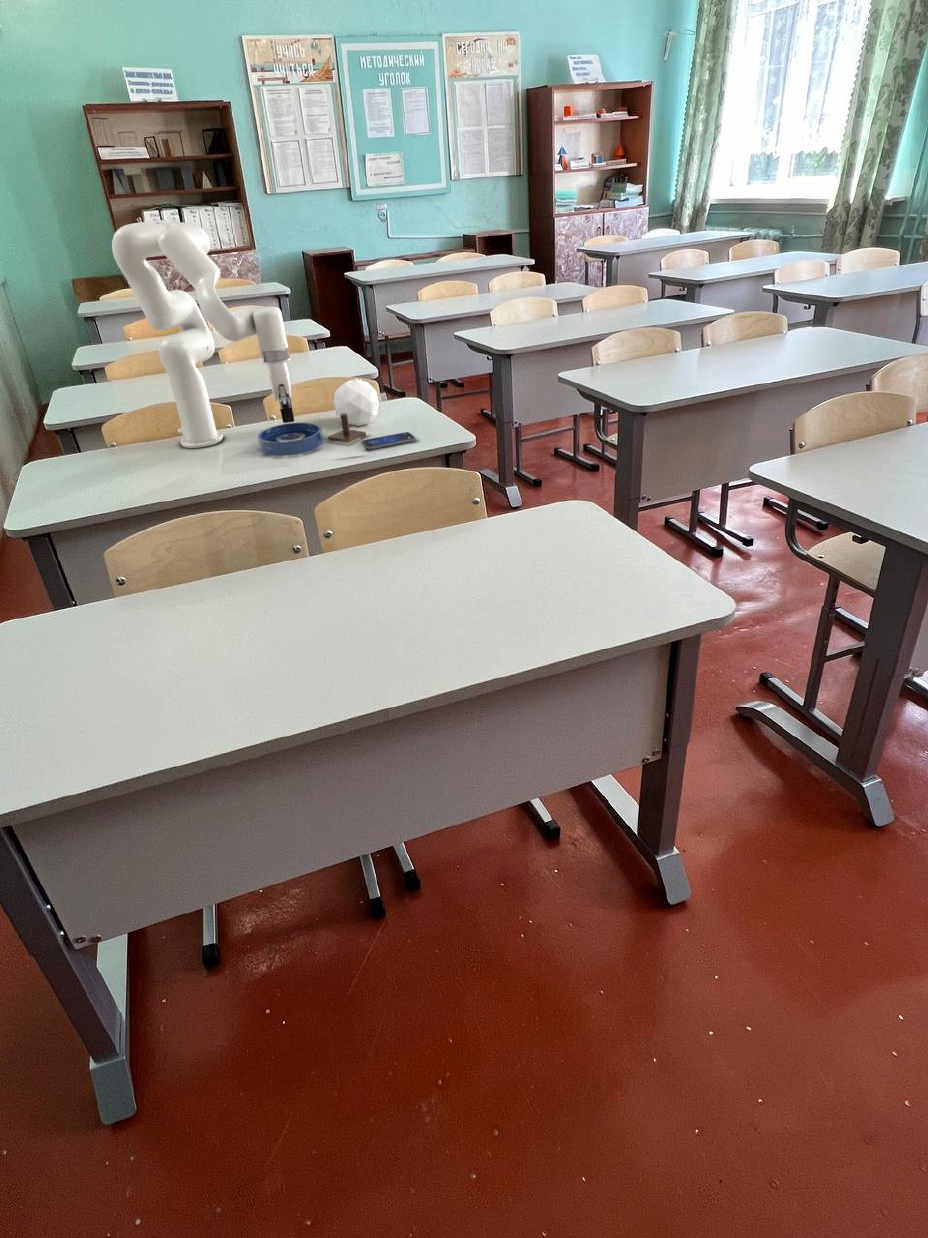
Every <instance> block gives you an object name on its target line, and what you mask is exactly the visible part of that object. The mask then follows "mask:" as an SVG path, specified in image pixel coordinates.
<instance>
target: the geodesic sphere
mask: <svg viewBox="0 0 928 1238" xmlns="http://www.w3.org/2000/svg"><path fill="white" fill-rule="evenodd" d="M379 401H380V400H379V397H378V393H377V391H376V389H375V388H374V387H373V386H372V385H371V384H370V383H369V382H368V381H364V380H362V377H359V378H355V379H351V380H348V381H345V382H343V383H342V384H341V385H340V386H339V387H337V389H335V392H334V397H333V401H332V403H333V408H334V411H335V415H336V416H337V417H338V418H339V419H340V420H341V414H343V413H347V416H348V423H349V426H355V427H356V428H358V427H361V426H365V425H367V424H370V422H371V421H372V420H374V419H375V418H376V417H377V415H378V410H379V406H380V403H379Z"/></svg>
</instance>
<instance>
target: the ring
mask: <svg viewBox="0 0 928 1238" xmlns="http://www.w3.org/2000/svg"><path fill="white" fill-rule="evenodd" d="M304 438H305V434H303V433H297V432H294V433H287V434H283V435H280V436H278V437H277V438H276V441H277V442H288V441H295V440H300V439H304ZM290 439H294V440H290Z"/></svg>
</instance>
